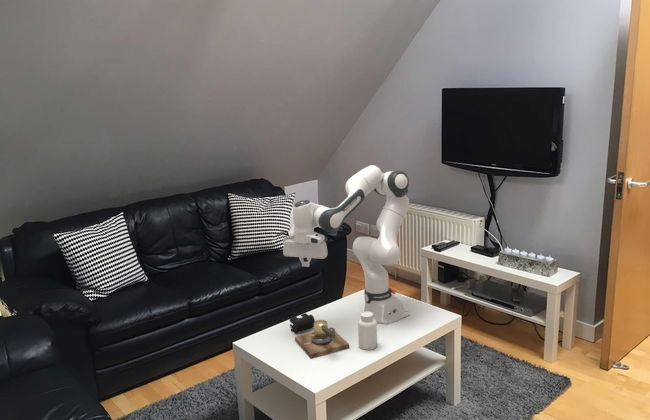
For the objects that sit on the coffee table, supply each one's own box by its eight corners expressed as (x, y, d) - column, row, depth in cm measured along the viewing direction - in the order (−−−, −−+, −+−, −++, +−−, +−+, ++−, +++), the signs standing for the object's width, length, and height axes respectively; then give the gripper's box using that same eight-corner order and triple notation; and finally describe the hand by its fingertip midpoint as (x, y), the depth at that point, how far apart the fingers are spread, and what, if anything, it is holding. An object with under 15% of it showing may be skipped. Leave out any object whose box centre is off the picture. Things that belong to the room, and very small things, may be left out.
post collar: (326, 333, 252) (326, 329, 252) (335, 342, 244) (335, 337, 244) (308, 338, 249) (307, 334, 248) (316, 347, 241) (316, 342, 240)
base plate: (331, 331, 259) (331, 327, 258) (349, 348, 243) (349, 343, 242) (295, 340, 251) (294, 336, 251) (311, 358, 235) (310, 353, 235)
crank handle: (308, 335, 247) (307, 318, 245) (328, 330, 250) (327, 313, 248) (323, 350, 233) (322, 332, 231) (344, 345, 237) (343, 327, 235)
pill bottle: (358, 350, 241) (357, 317, 237) (359, 341, 248) (358, 309, 245) (376, 350, 240) (375, 318, 236) (377, 341, 247) (376, 310, 244)
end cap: (297, 336, 256) (296, 322, 254) (289, 330, 262) (288, 317, 260) (315, 330, 261) (315, 316, 259) (307, 324, 267) (307, 311, 265)
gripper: (279, 237, 251) (281, 267, 254) (323, 240, 244) (324, 270, 248) (285, 233, 257) (287, 262, 260) (327, 236, 250) (329, 265, 253)
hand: (305, 266), depth 254 cm, fingers closed
